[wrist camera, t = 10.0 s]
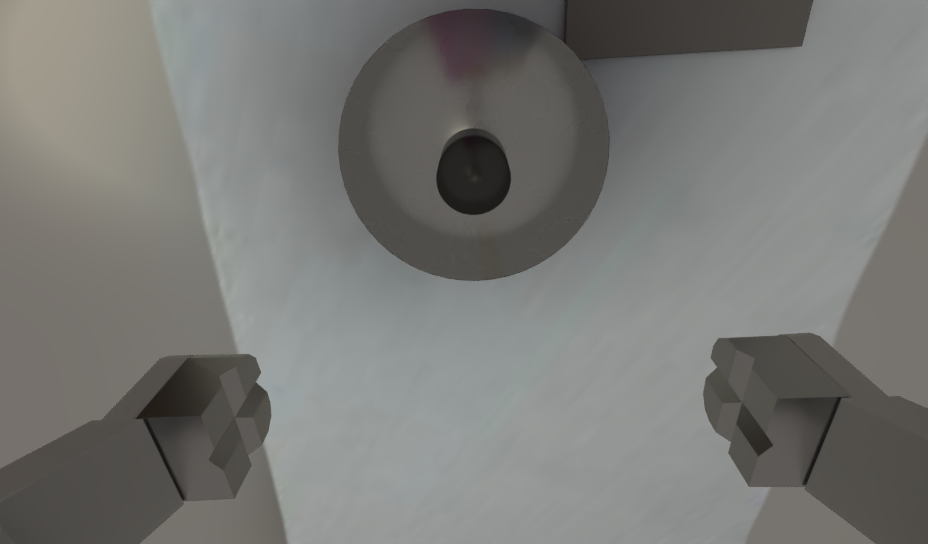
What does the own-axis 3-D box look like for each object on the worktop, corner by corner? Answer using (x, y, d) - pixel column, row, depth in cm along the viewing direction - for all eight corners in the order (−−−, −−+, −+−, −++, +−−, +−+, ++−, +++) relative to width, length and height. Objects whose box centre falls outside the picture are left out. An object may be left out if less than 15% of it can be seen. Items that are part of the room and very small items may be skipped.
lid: (319, 18, 21) (290, 16, 18) (616, -1, 20) (645, -6, 17) (363, 278, 27) (348, 314, 23) (595, 268, 26) (613, 304, 23)
